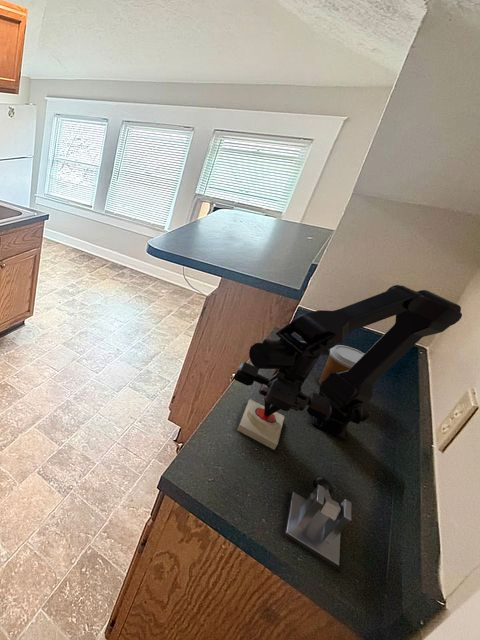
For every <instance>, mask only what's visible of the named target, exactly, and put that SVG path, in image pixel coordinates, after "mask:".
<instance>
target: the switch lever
mask: <svg viewBox="0 0 480 640" xmlns="http://www.w3.org/2000/svg"><path fill="white" fill-rule="evenodd" d="M318 485H320V486H322V487H324V488H325V492H324V503H323V506H322V507H321V508H320V512H321V513H323V514H324V515H326V516H328V517H329V518H331V519H333V520H335V519H336V518H337V516H338V514H339V512H340V511H341V508H340V503H339V502H338V501H336V500H334V499H332V497H331V494H332V493H333V492H334V486H333V484H332V483H331V482H330V480H329V479H327V478H325V477H318V476H317V477H315V478H313V480H312V487H313V489H314V490H315V489H316V487H317V486H318Z"/></svg>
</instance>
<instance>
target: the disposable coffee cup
mask: <svg viewBox="0 0 480 640" xmlns="http://www.w3.org/2000/svg"><path fill="white" fill-rule="evenodd" d="M329 352H330V354H329V355H328V358H327V360H326V361H325V362H326V363H325V365H324V368H323V370H322V372H321V375H320V377H319V379H318V383H319V385H320V386H321V384H322V383H321V382H323V381H324V380H325V379H327V378H328V376H329V375H330V374H331V373H333V372H336V373H341V372H345V371H348V370H349V369H351V368H352V367H353V365H354V364H355V363H356V362H357V361H358V360H359V359H360V358H361V357H362V356H363V355H364V354H365V353H364V352H362V351H360V350H359V349H356V348H354V347H351V346H348V345H343V344H337V345H335V346H333V347H331V348H329Z"/></svg>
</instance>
